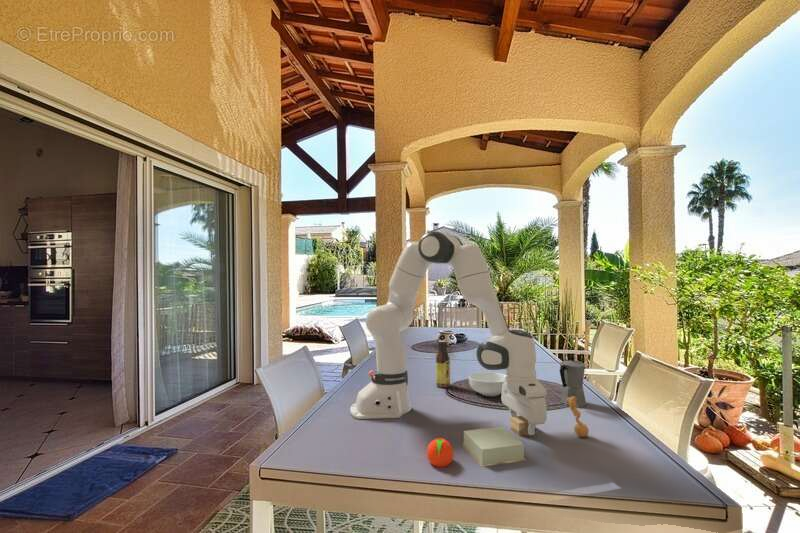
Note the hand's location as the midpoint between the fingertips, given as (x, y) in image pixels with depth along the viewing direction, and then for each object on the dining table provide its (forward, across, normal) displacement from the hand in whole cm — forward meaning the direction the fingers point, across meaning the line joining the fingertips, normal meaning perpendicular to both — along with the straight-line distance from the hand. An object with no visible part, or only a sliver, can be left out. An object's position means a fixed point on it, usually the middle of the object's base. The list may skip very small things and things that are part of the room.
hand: (522, 428), depth 120 cm
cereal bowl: (+2, -40, +9) cm, 41 cm away
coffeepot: (+2, -20, +33) cm, 39 cm away
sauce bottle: (+2, -55, -6) cm, 55 cm away
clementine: (+2, +12, -31) cm, 33 cm away
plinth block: (+1, +10, -15) cm, 18 cm away
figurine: (+2, +5, +16) cm, 17 cm away
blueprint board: (+2, +10, -15) cm, 18 cm away
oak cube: (+2, 0, 0) cm, 2 cm away
